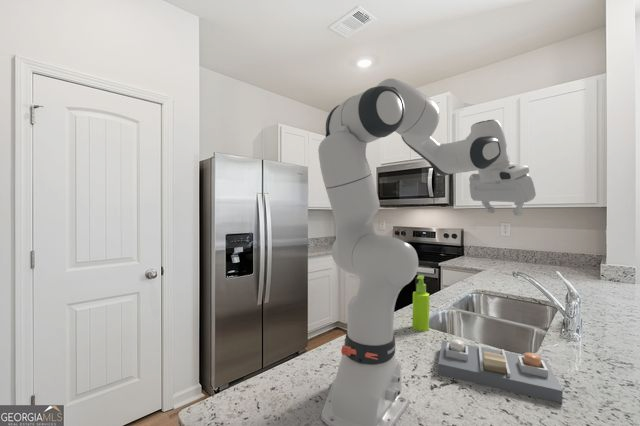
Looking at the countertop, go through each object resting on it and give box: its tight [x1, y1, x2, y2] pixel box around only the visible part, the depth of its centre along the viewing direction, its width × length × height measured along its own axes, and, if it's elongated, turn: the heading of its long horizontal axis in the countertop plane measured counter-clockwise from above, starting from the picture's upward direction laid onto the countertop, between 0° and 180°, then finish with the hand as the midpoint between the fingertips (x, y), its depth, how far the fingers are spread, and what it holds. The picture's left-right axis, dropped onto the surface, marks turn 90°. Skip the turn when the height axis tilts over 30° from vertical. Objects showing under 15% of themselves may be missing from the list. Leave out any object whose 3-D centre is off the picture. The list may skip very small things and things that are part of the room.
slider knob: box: [483, 351, 506, 374], centre depth 79 cm, size 4×5×3 cm
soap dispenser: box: [411, 274, 430, 332], centre depth 112 cm, size 6×7×20 cm
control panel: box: [437, 339, 563, 404], centre depth 83 cm, size 16×27×5 cm, turn 64°
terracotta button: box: [523, 352, 542, 368], centre depth 79 cm, size 4×4×2 cm
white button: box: [450, 338, 465, 352], centre depth 87 cm, size 4×4×2 cm
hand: (504, 213), depth 95 cm, fingers open, 8 cm apart
